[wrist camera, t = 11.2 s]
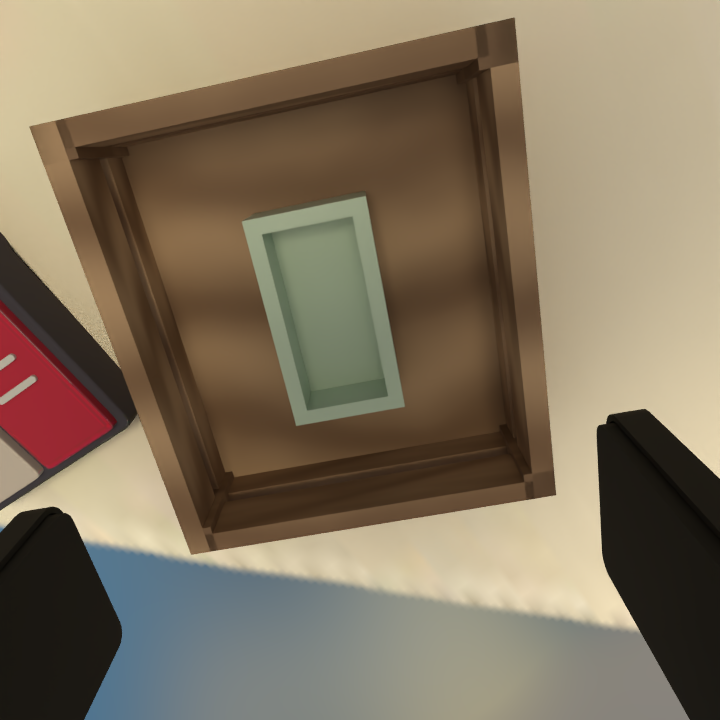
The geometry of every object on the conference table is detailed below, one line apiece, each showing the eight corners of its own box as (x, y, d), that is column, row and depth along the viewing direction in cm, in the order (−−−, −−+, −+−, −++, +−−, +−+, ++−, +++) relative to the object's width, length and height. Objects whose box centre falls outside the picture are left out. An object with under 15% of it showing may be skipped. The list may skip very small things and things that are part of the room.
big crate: (99, 130, 26) (29, 126, 21) (480, 46, 25) (514, 17, 20) (219, 485, 33) (191, 554, 28) (521, 433, 32) (555, 495, 27)
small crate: (254, 213, 27) (241, 221, 24) (365, 190, 26) (365, 196, 24) (302, 399, 30) (296, 425, 27) (400, 382, 30) (405, 406, 27)
